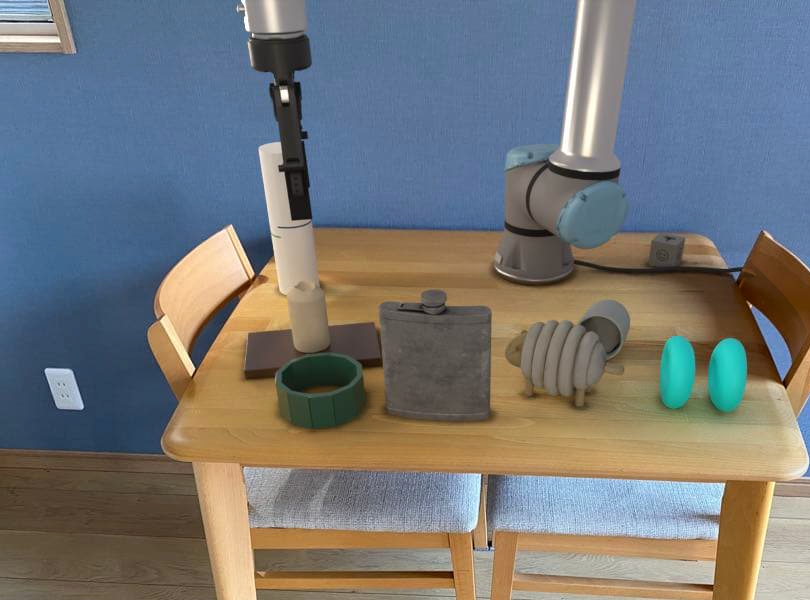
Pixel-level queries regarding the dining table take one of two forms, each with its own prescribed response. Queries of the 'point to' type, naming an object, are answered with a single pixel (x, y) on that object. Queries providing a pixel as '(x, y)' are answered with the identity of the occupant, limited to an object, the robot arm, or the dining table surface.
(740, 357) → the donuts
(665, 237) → the grey engraved cube
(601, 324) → the ceramic mug
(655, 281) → the dining table surface
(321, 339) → the candle
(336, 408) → the segmented bracelet
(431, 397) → the flask
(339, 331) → the walnut board
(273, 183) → the cylindrical container
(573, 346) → the toy sheep
